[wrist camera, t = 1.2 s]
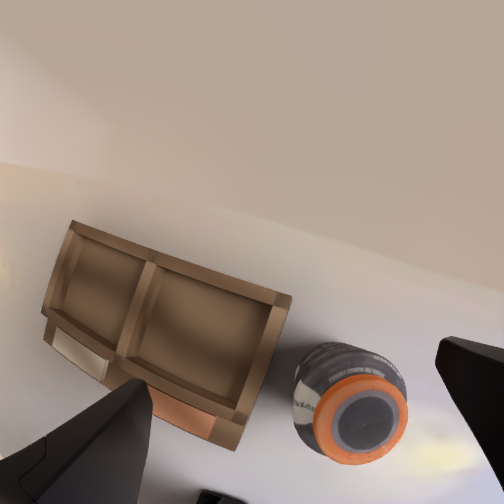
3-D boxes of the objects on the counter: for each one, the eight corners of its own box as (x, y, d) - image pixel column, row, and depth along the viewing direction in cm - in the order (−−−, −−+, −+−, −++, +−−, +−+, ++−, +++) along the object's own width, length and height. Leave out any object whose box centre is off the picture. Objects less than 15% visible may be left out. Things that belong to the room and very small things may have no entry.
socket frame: (237, 446, 19) (230, 458, 17) (50, 339, 24) (34, 338, 22) (292, 299, 22) (291, 296, 20) (86, 227, 27) (72, 219, 25)
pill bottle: (280, 396, 20) (262, 456, 9) (315, 329, 21) (333, 330, 10) (346, 425, 19) (383, 496, 8) (382, 359, 20) (452, 381, 9)
